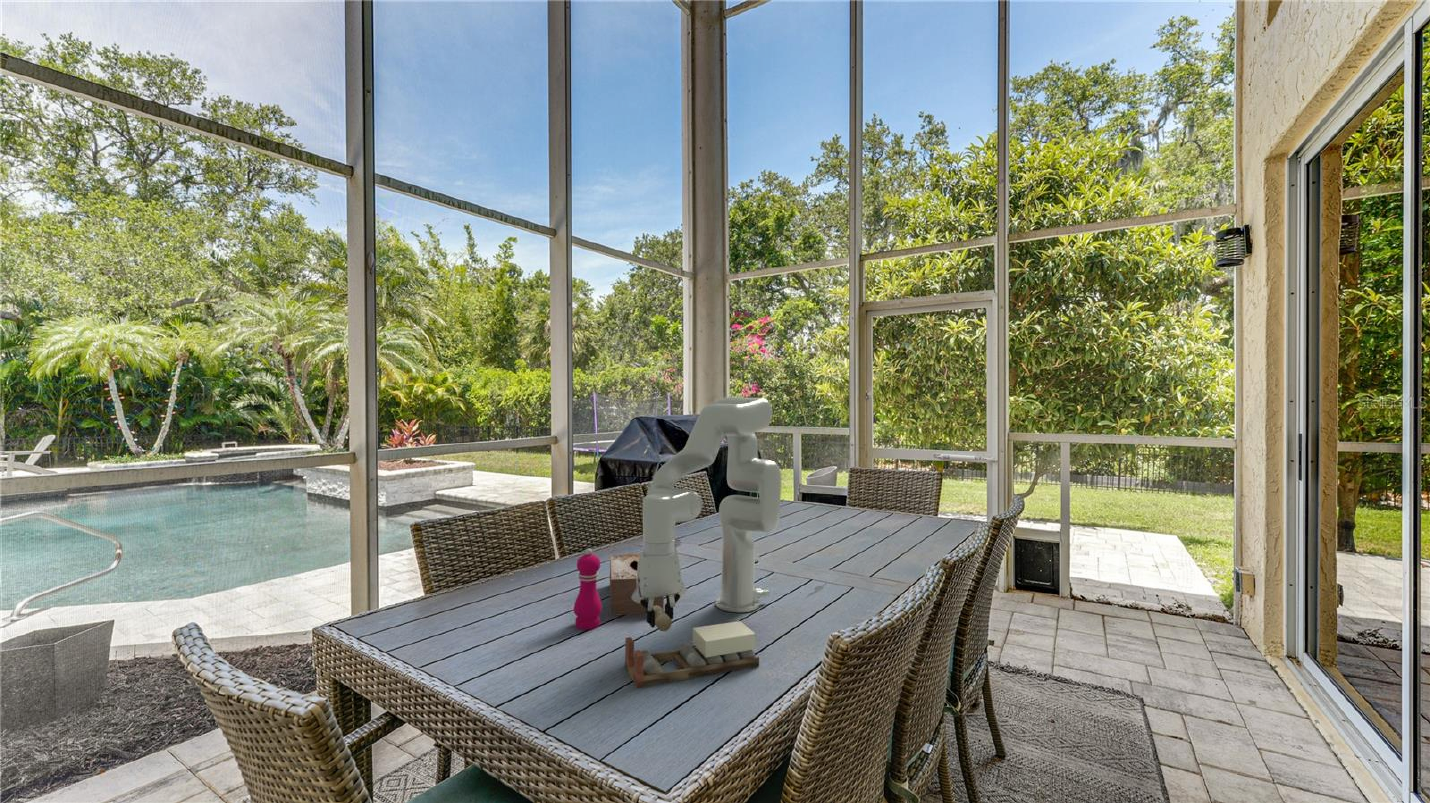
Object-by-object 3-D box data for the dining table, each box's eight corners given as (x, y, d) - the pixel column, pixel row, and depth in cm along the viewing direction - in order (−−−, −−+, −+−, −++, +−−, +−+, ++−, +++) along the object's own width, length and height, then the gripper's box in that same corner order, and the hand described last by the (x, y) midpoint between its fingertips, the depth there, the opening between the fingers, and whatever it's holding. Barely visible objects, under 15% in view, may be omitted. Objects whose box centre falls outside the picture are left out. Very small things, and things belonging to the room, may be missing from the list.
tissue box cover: (609, 586, 188) (610, 554, 188) (655, 584, 191) (656, 553, 191) (610, 616, 163) (611, 579, 163) (663, 613, 166) (664, 577, 166)
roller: (648, 620, 144) (648, 606, 144) (662, 618, 145) (662, 604, 145) (657, 632, 138) (657, 617, 137) (671, 629, 139) (671, 615, 139)
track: (739, 648, 143) (740, 621, 143) (758, 666, 134) (759, 637, 134) (625, 667, 132) (625, 637, 132) (637, 687, 123) (637, 656, 123)
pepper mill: (595, 631, 151) (596, 552, 151) (568, 628, 153) (569, 550, 153) (606, 621, 158) (607, 545, 158) (580, 618, 160) (581, 544, 160)
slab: (739, 635, 142) (740, 621, 142) (755, 649, 134) (755, 633, 134) (692, 643, 137) (692, 627, 137) (705, 657, 130) (706, 641, 130)
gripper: (686, 539, 147) (687, 612, 148) (620, 547, 141) (621, 623, 142) (697, 547, 140) (698, 623, 141) (628, 555, 134) (629, 636, 135)
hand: (659, 622), depth 141 cm, fingers closed on roller, 3 cm apart
